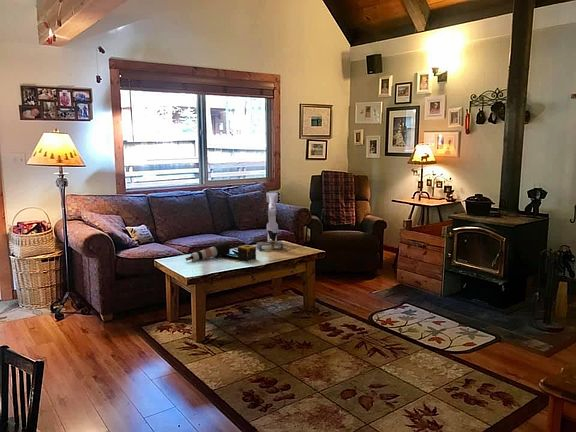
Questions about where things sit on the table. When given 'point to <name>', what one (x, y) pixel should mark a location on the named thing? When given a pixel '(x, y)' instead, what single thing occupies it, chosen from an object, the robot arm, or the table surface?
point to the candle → (246, 253)
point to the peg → (272, 242)
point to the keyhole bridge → (260, 244)
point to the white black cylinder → (211, 252)
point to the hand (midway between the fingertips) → (272, 240)
